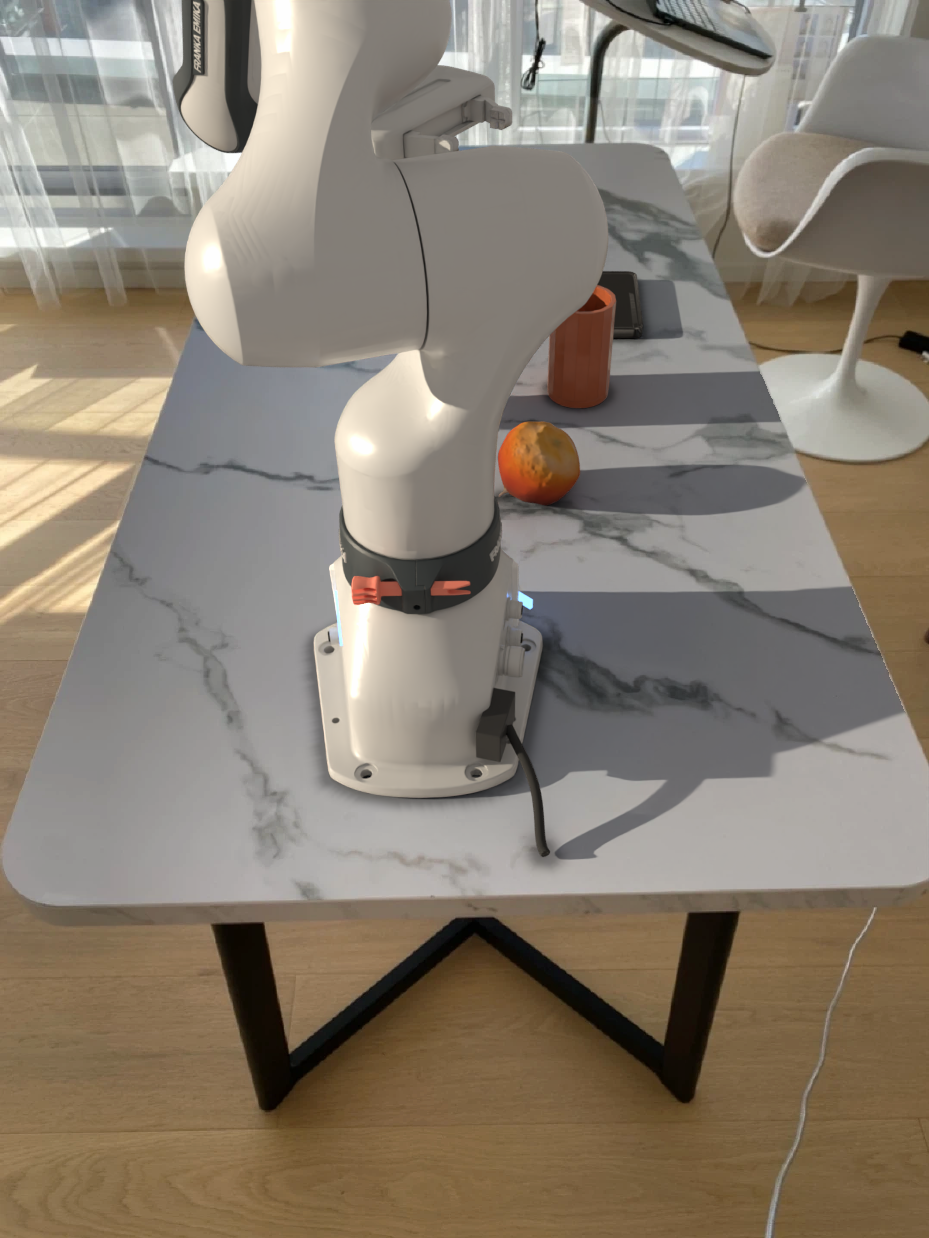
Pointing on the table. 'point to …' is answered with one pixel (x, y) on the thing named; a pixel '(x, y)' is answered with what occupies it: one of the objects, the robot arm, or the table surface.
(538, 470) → the fruit
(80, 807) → the table surface
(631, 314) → the phone
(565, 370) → the cup
